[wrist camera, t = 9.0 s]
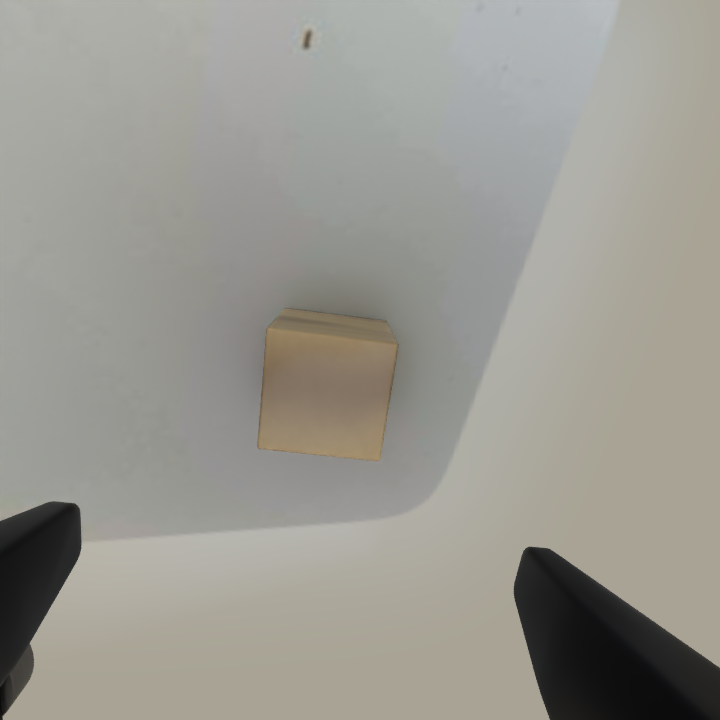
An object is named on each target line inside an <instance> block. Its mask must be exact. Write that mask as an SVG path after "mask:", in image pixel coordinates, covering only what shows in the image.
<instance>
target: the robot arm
mask: <svg viewBox="0 0 720 720" xmlns="http://www.w3.org/2000/svg"><path fill="white" fill-rule="evenodd" d="M80 551H81V517H80V509H79V507H78V506H77V505H76V504H74V503H65V502H54V501H53V502H48V503H45V504H43V505H40V506H38V507H35V508H33V509H30V510H27V511H25V512H22V513H20V514H17V515H15V516H12V517H10V518H7V519H5V520H2V521H0V687H1V685H2V684H3V682H4V681H5V679H6V678H7V677H8V675H9V674H10V672H11V671H12V669H13V668H14V666H15V665H16V663H17V662H18V660H19V659H20V657H21V656H22V655H23V653H24V651H25V650H26V648H27V646H28V645H29V643H30V641H31V640H32V638H33V636H34V635H35V633H36V631H37V629H38V627H39V626H40V624H41V622H42V621H43V619H44V617H45V616H46V614H47V612H48V610H49V609H50V607H51V605H52V603H53V602H54V600H55V598H56V597H57V595H58V593H59V591H60V590H61V588H62V586H63V584H64V582H65V581H66V579H67V577H68V576H69V574H70V572H71V571H72V569H73V567H74V565H75V563H76V562H77V560H78V557H79V555H80ZM514 598H515V602H516V606H517V609H518V613H519V617H520V621H521V624H522V628H523V631H524V635H525V639H526V643H527V646H528V650H529V654H530V658H531V661H532V665H533V669H534V672H535V676H536V679H537V683H538V686H539V689H540V692H541V696H542V698H543V701H544V704H545V707H546V710H547V712H548V715H549V718H550V720H720V668H719V667H718V666H716V665H715V664H713V663H712V662H711V661H709V660H708V659H706V658H705V657H703V656H702V655H701V654H699V653H698V652H696V651H695V650H693V649H692V648H690V647H689V646H688V645H686V644H685V643H683V642H682V641H680V640H679V639H677V638H676V637H675V636H673V635H672V634H670V633H669V632H667V631H666V630H665V629H663V628H662V627H661V626H659V625H658V624H656V623H655V622H653V621H652V620H650V619H649V618H648V617H646V616H645V615H643V614H642V613H641V612H639V611H638V610H636V609H635V608H633V607H632V606H630V605H629V604H628V603H626V602H625V601H623V600H622V599H621V598H619V597H618V596H616V595H615V594H614V593H612V592H610V591H609V590H608V589H606V588H605V587H603V586H602V585H601V584H599V583H598V582H596V581H595V580H594V579H592V578H591V577H589V576H588V575H586V574H585V573H583V572H582V571H581V570H579V569H578V568H576V567H575V566H574V565H572V564H571V563H569V562H568V561H566V560H565V559H564V558H562V557H561V556H559V555H558V554H556V553H555V552H553V551H552V550H550V549H548V548H539V547H527V548H526V549H525V550H524V551H523V554H522V557H521V561H520V565H519V568H518V572H517V576H516V580H515V583H514ZM0 720H3V717H2V707H1V697H0Z"/></svg>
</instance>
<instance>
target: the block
mask: <svg viewBox="0 0 720 720" xmlns="http://www.w3.org/2000/svg"><path fill="white" fill-rule="evenodd" d="M397 352H398V343H397V341H396V339H395V337H394V335H393V333H392V331H391V329H390V327H389V325H388V324H387V322H386V321H382V320H374V319H367V318H359V317H351V316H343V315H335V314H327V313H319V312H311V311H303V310H295V309H287V308H286V309H284V310H283V311H282V312H281V313H280V315H279V316H278V317H277V318H276V319H275V320H274V321H273V322H272V323H271V324H270V325H269V326H268V328H267V330H266V343H265V356H264V368H263V381H262V394H261V406H260V419H259V431H258V444H257V447H258V448H259V449H266V450H276V451H286V452H295V453H305V454H314V455H324V456H333V457H343V458H352V459H362V460H371V461H380V458H381V452H382V446H383V440H384V433H385V427H386V421H387V414H388V408H389V402H390V396H391V389H392V383H393V377H394V370H395V364H396V358H397Z"/></svg>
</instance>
